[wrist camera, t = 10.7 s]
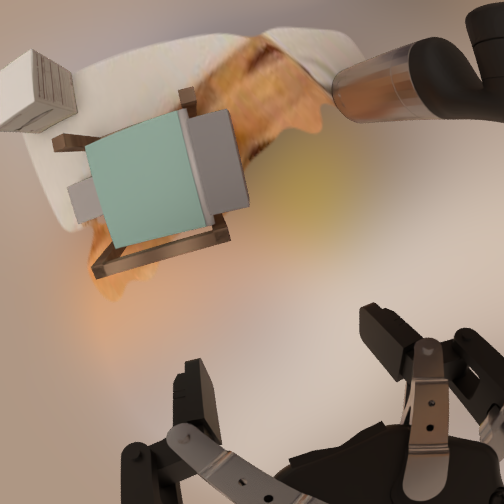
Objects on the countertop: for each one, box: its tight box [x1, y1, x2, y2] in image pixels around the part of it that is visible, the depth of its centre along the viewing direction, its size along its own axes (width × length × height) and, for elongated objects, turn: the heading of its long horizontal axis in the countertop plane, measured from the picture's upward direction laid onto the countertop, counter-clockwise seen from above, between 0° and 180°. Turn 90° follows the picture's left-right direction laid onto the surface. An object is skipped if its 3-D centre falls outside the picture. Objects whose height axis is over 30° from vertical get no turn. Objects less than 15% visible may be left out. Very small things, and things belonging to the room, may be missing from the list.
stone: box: [67, 177, 104, 224], centre depth 32 cm, size 5×5×6 cm
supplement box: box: [0, 49, 77, 133], centre depth 22 cm, size 7×7×13 cm
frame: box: [52, 87, 231, 279], centre depth 29 cm, size 14×15×12 cm
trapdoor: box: [85, 108, 249, 249], centre depth 26 cm, size 15×12×4 cm
